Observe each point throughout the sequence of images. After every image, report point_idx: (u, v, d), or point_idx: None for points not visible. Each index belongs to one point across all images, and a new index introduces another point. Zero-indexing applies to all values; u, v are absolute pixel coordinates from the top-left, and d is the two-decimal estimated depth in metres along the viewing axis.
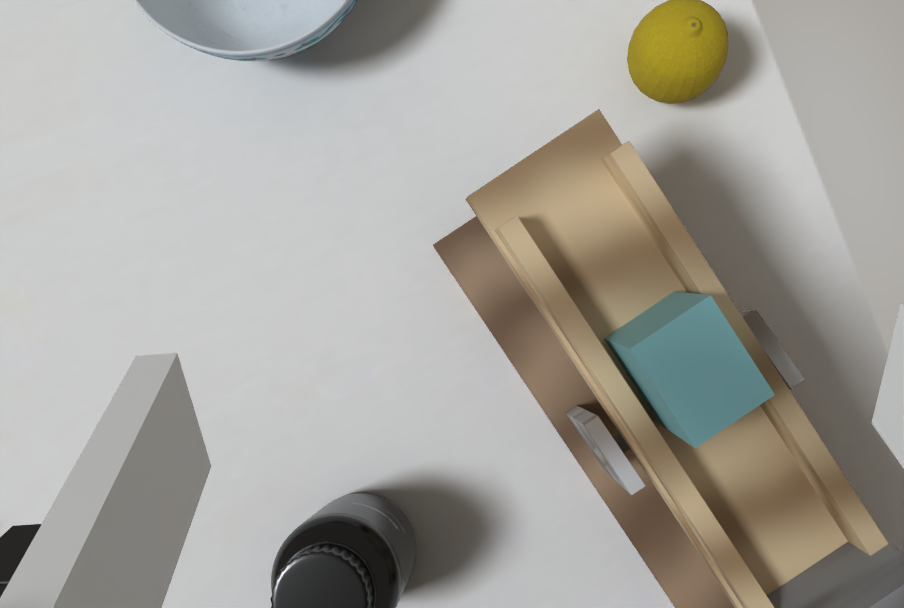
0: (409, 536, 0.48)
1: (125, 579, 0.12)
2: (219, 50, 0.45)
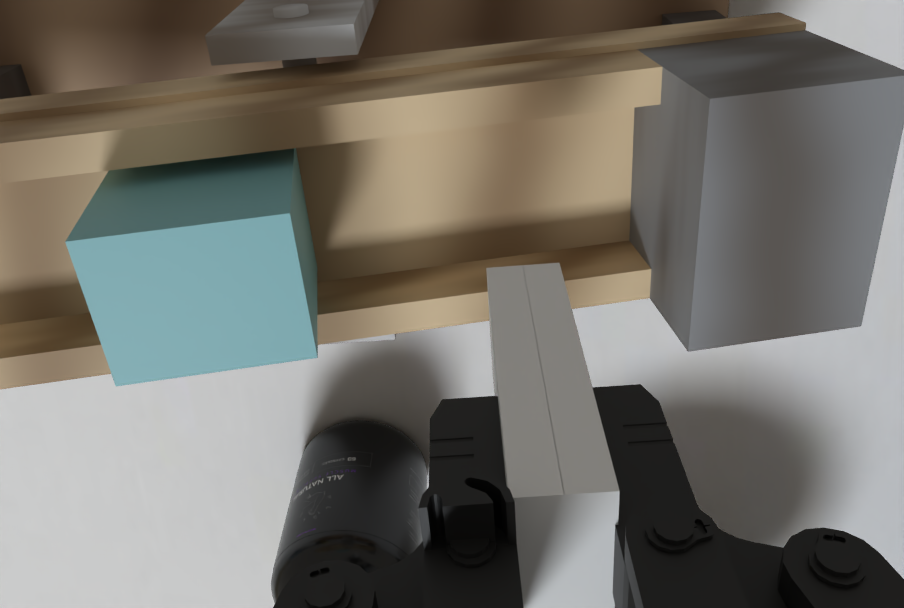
0: (367, 447, 0.40)
1: None
2: None
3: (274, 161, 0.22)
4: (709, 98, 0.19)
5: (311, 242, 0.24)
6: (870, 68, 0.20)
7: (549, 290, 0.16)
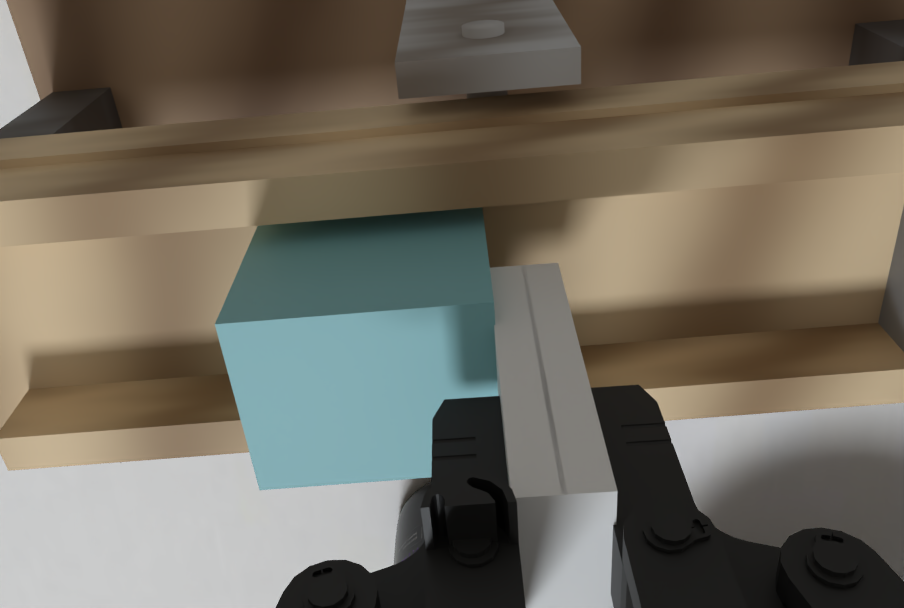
0: None
1: None
2: None
3: (460, 219, 0.18)
4: None
5: None
6: None
7: (547, 290, 0.16)
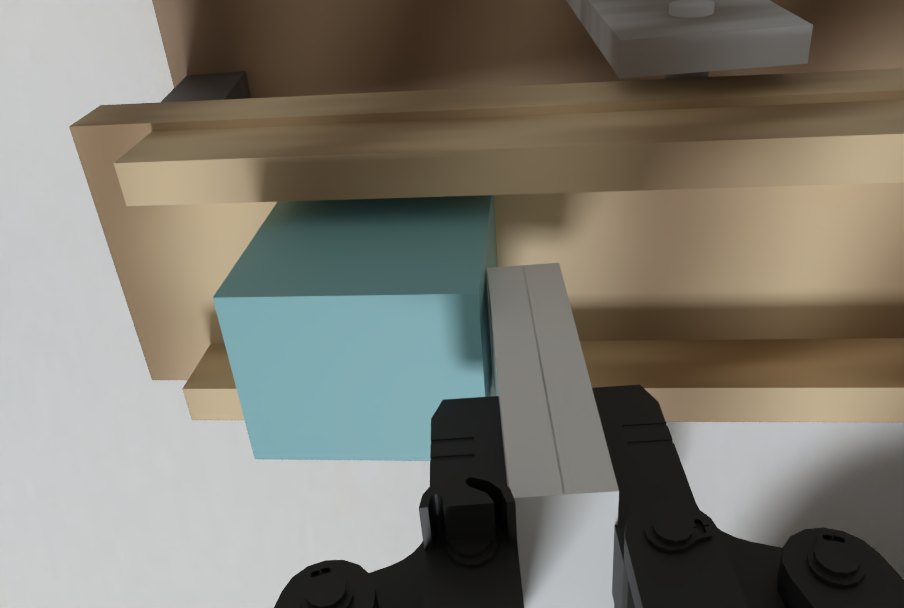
0: None
1: None
2: None
3: (467, 210, 0.18)
4: None
5: None
6: None
7: (549, 290, 0.16)
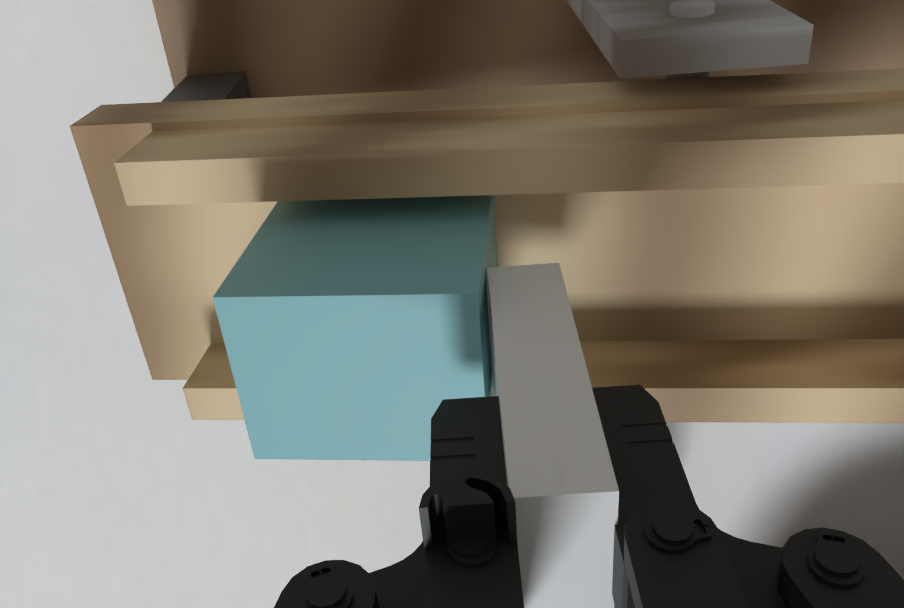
0: None
1: None
2: None
3: (467, 210, 0.18)
4: None
5: None
6: None
7: (549, 290, 0.16)
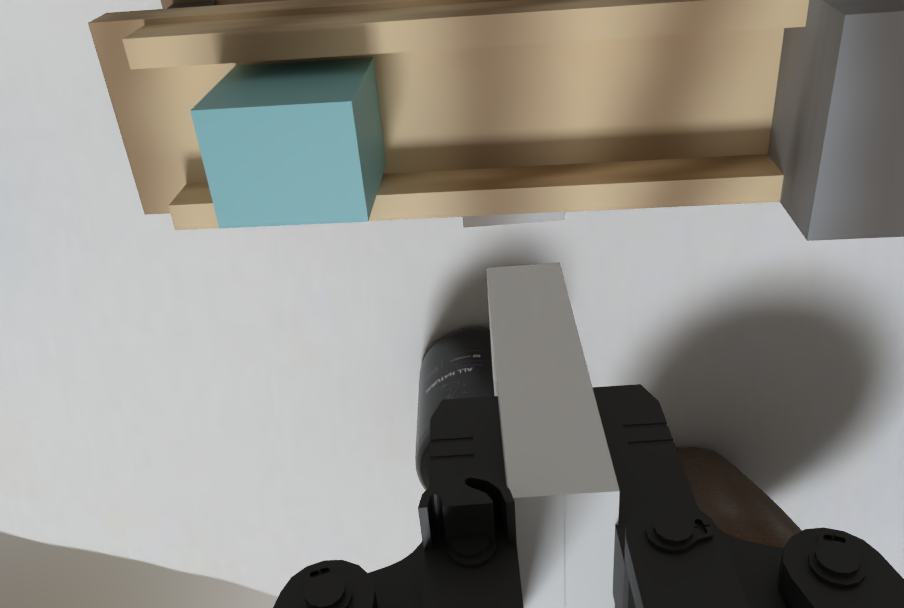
0: (487, 347, 0.46)
1: None
2: None
3: (353, 69, 0.28)
4: (845, 14, 0.23)
5: (381, 140, 0.30)
6: None
7: (549, 290, 0.16)
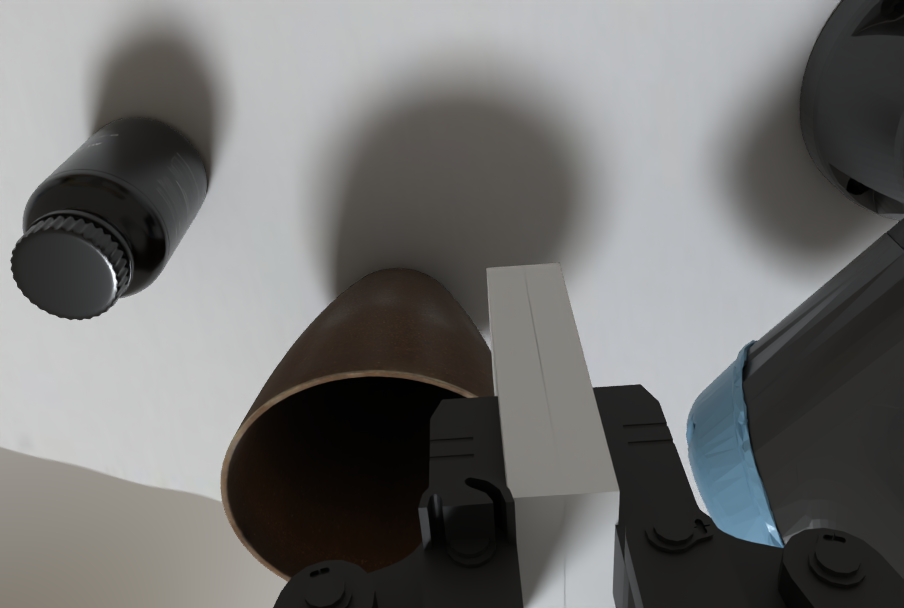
0: (132, 129, 0.43)
1: None
2: None
3: None
4: None
5: None
6: None
7: (549, 290, 0.16)
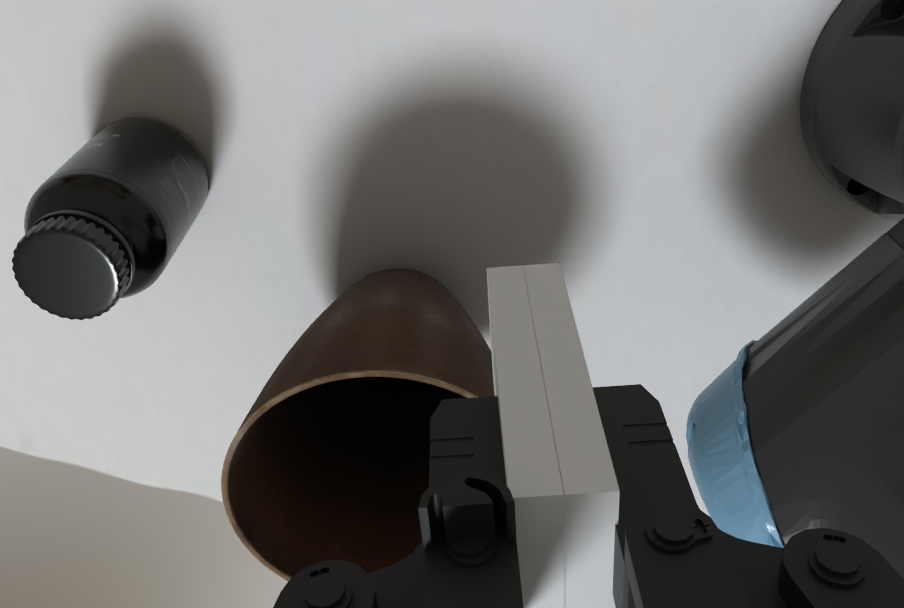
0: (134, 130, 0.43)
1: None
2: None
3: None
4: None
5: None
6: None
7: (549, 290, 0.16)
